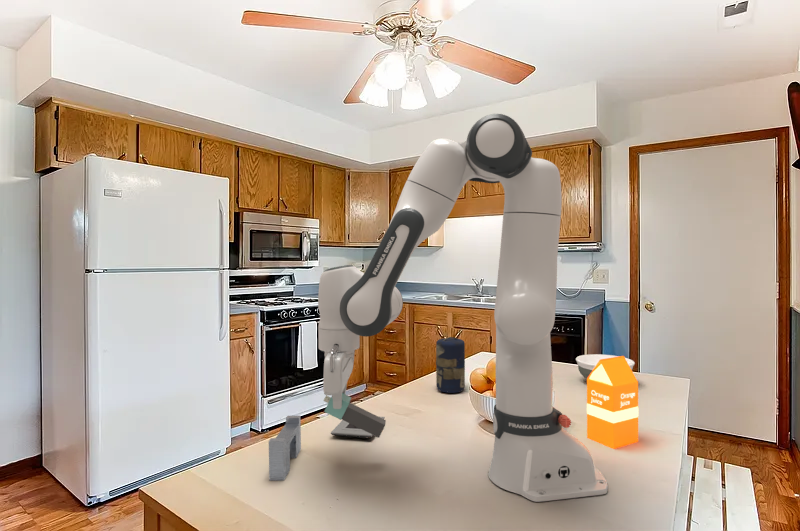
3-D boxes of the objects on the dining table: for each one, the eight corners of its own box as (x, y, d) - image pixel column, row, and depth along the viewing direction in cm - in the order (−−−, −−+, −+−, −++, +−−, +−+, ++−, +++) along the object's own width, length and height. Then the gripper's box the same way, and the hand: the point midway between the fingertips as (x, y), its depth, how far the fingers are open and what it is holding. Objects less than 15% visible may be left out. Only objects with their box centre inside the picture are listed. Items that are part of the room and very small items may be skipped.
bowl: (587, 391, 152) (587, 366, 152) (568, 376, 171) (568, 354, 170) (645, 391, 151) (645, 366, 151) (620, 376, 170) (620, 354, 170)
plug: (379, 431, 103) (387, 415, 103) (378, 438, 99) (387, 421, 99) (322, 403, 103) (330, 387, 103) (319, 409, 99) (327, 392, 99)
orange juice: (639, 442, 111) (638, 358, 110) (613, 449, 107) (613, 362, 106) (610, 431, 118) (610, 352, 117) (586, 437, 114) (585, 356, 113)
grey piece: (300, 449, 109) (300, 415, 109) (284, 480, 94) (283, 441, 94) (288, 449, 109) (287, 415, 109) (269, 480, 94) (268, 441, 94)
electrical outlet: (371, 443, 113) (371, 434, 112) (330, 440, 115) (330, 431, 115) (384, 424, 125) (384, 415, 125) (347, 422, 128) (347, 413, 128)
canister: (432, 388, 158) (431, 335, 157) (457, 385, 161) (457, 333, 160) (443, 396, 149) (442, 340, 148) (470, 393, 152) (469, 338, 151)
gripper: (347, 350, 90) (348, 420, 90) (358, 332, 111) (358, 390, 111) (315, 350, 90) (315, 420, 90) (332, 332, 111) (332, 390, 111)
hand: (339, 403), depth 101 cm, fingers closed on plug, 4 cm apart
